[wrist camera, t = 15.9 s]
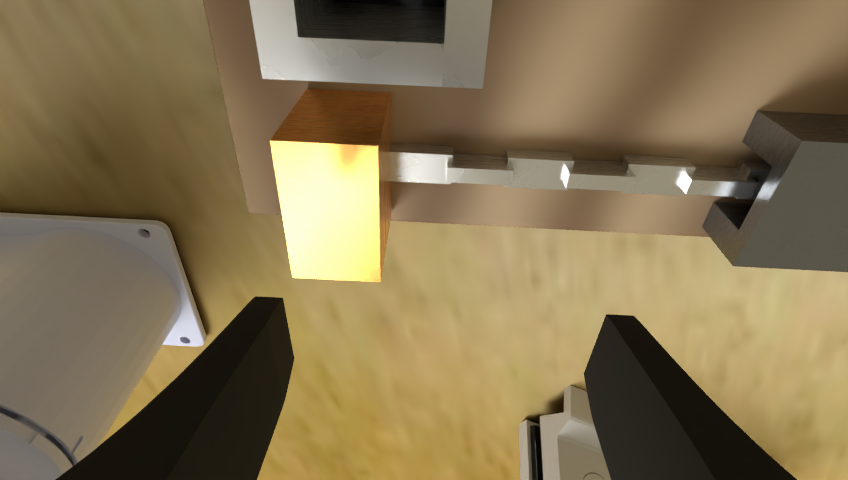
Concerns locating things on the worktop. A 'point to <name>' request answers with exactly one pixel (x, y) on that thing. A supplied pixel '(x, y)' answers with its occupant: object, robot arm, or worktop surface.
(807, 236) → the chain housing
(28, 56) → the worktop surface
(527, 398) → the worktop surface
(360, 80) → the grey recessed block
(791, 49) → the deck plank
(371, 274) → the chain slider
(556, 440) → the light grey piece
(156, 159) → the worktop surface
